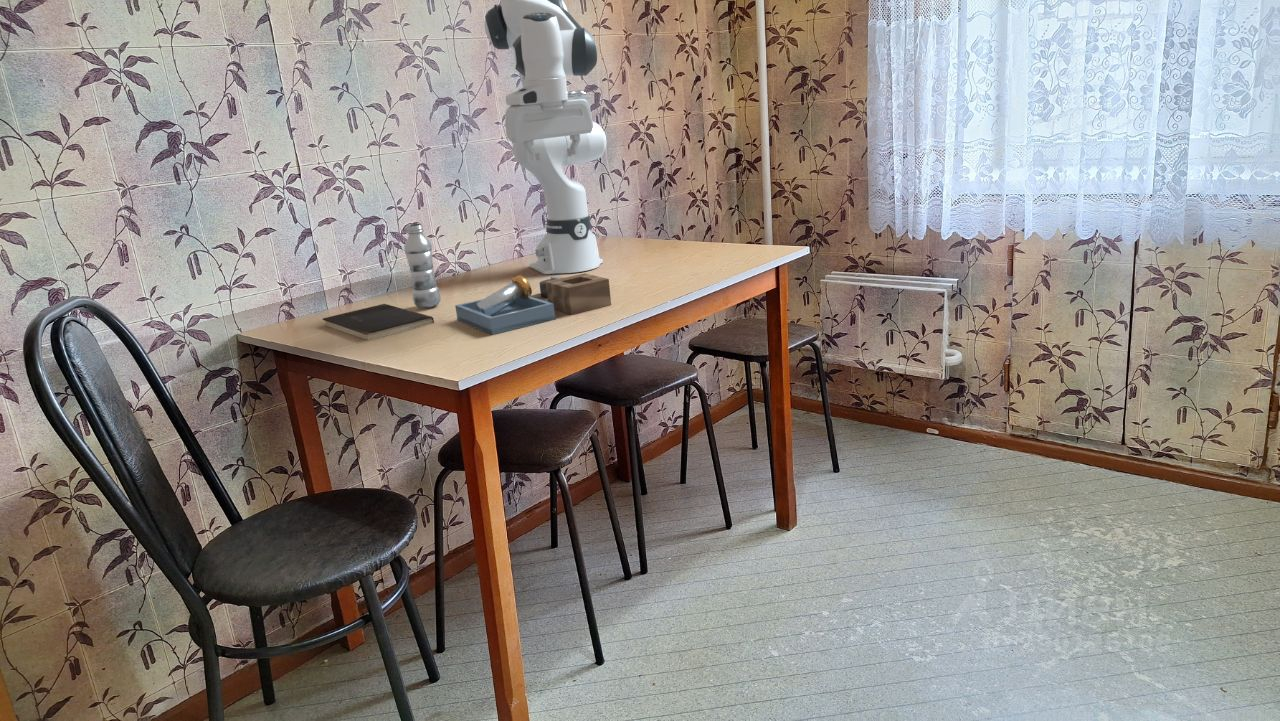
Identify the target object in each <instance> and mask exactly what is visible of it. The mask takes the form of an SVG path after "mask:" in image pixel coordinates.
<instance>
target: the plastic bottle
mask: <svg viewBox="0 0 1280 721" xmlns="http://www.w3.org/2000/svg"><path fill="white" fill-rule="evenodd" d="M406 230H407V231H406V234H407V235H408V237H407V239H406V241H405V243H404V248H403V249H404V253H405V258H406V259H407V263H408V266H409V267H408V268H409V271H410V275H411V286H412V300H413V304H414V306H416V307H417V308H419V309H421V308H422V309H430V308H432V307H435V306H438V305H439V304H440V302H441V292H440V288H439V286H437V285H438V283H437V280H436V277H435V272H434V264H433V263H434V262H433V247H432V246H433V245H432V243H431V241H430V240H429V238H427V237H426V236H425V235H424V232H425V231H424V226H423V223H411V224H407V225H406Z"/></svg>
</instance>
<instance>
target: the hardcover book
mask: <svg viewBox="0 0 1280 721" xmlns="http://www.w3.org/2000/svg"><path fill="white" fill-rule="evenodd" d="M322 320H323V321H324V322H325V325H326V327H330V328H332V329H334V330H338V331H341V332H344V333H346V334H350V335H352V336H355V337H358V338H360V339H363V340H365V341H370V340H376V339H379V338H382V337H383V338H384V337H387V336H390V335H394V334H397V333H402V332H405V331H409V330H413V329H416V328H420V327H423V326H427V325H432V324H435V319H434V317H433V316H432V315H427V314H424V313H420V312H416V311H412V310H409V309H405V308H401V307H398V306H394V305H390V304H387V303H382V304H381V303H380V304H378V305H372V306H368V307H365V308H360V309H356V310H351V311H348V312H345V313H339V314H335V315H331V316H328V317H327V316H326V317H323V318H322Z"/></svg>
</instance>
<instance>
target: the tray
mask: <svg viewBox="0 0 1280 721" xmlns="http://www.w3.org/2000/svg"><path fill="white" fill-rule="evenodd" d="M483 299H484V298H482V299H477V300H474V301H469V302H464V303H460V304H456V305H454V306H455V312H456V319H457V321H458V322H460V323H463V324H465V325H466V326H467V325H468V326H470V327H473V328H474V329H478V330H479V331H482V332H485V333H486V334H489V335H492V336H493V335H494V336H495V335H498V334H501V333H502V334H503V333H506V332H510V331H513V330H517V329H522V328H526V327H529V326H534V325H538V324H542V323H546V322H550V321H554V320H556V312H555V309H554V304H553V303H550V302H547V301H544V300H540V299H537V298H534V297H530V296H529V297H527V298H525V299H522V298H520V299H519V300H517V301H515V302H514V303H512V304H510V305H509V306H507V307H506V308H504V309H502V310H501V311H499V312H497V313H496V314H494V315H492V316H489V315H486V314H484V313H481V312H478V311H477V309H476V303H478V302H480V301H481V300H483Z"/></svg>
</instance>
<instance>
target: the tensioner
mask: <svg viewBox="0 0 1280 721" xmlns="http://www.w3.org/2000/svg"><path fill="white" fill-rule="evenodd" d="M538 285H539V290H540V291H539V292H540V293H539V292H538V293H534V294H531V295H530V297H534V298H537V299H540V300H544V301H547V302H550V303H553V304H554V311H559V312H562V313H565V314H568V315H571V316H572V315H576V314H580V313H584V312H588V311H592V310H596V309H601V308H605V307H608V306H611V305H612V298H611V288H610V287H611V286H610V279H609V278H606V277H602V276H597V275H593V274H590V273H589V274H588V273H585V272H584V273H580V274H576V275H571V276H567V277H562V276H560V275H559V276H558V275H554V276H551V277H550V278H548V279H544V280H542V281H540V282H539V284H538Z"/></svg>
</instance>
